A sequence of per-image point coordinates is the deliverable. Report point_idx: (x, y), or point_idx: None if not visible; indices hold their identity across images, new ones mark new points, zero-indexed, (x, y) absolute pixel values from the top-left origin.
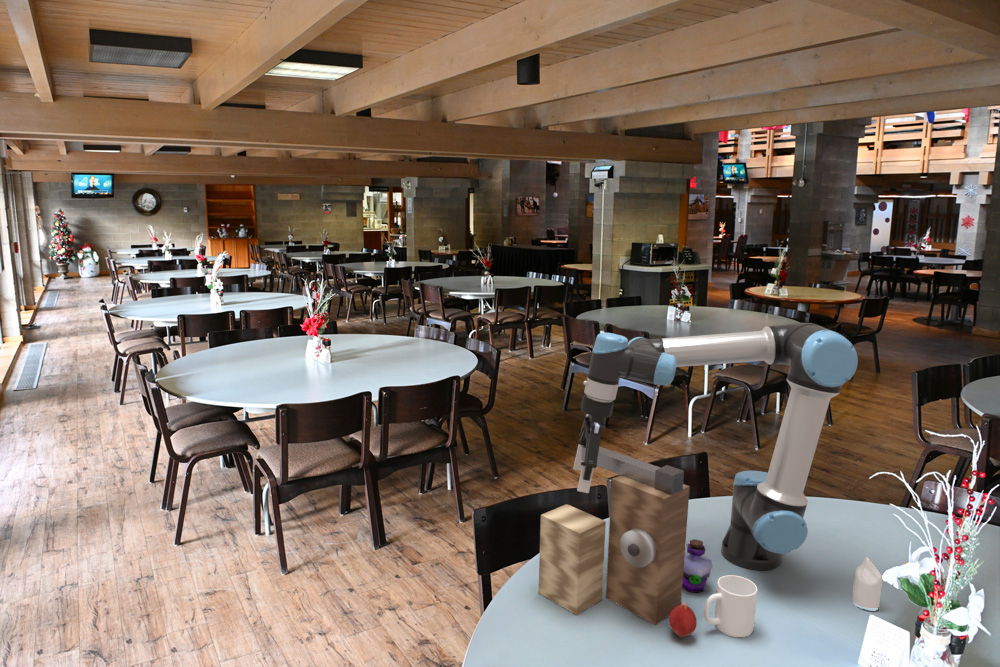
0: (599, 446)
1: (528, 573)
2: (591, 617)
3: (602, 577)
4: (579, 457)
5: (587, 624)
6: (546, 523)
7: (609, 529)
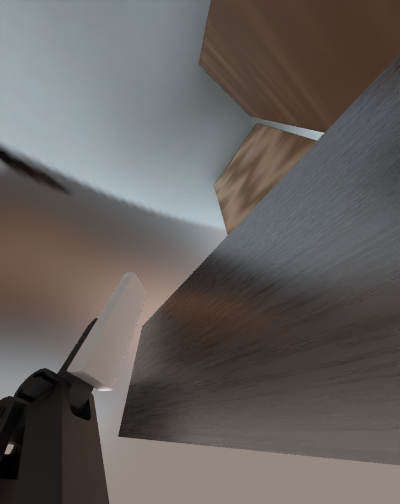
0: (151, 439)
1: (210, 222)
2: (296, 134)
3: (270, 127)
4: (127, 326)
5: (311, 137)
6: None
7: (310, 128)
